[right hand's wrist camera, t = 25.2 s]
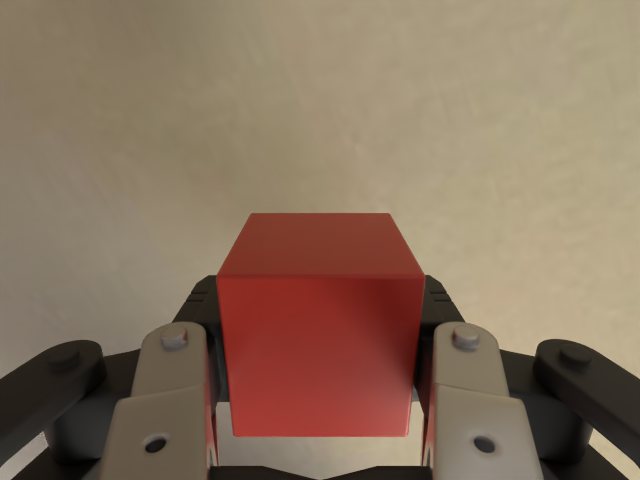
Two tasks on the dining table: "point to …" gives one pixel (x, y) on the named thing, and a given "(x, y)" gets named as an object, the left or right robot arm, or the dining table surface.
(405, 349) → the brick
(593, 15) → the dining table surface
